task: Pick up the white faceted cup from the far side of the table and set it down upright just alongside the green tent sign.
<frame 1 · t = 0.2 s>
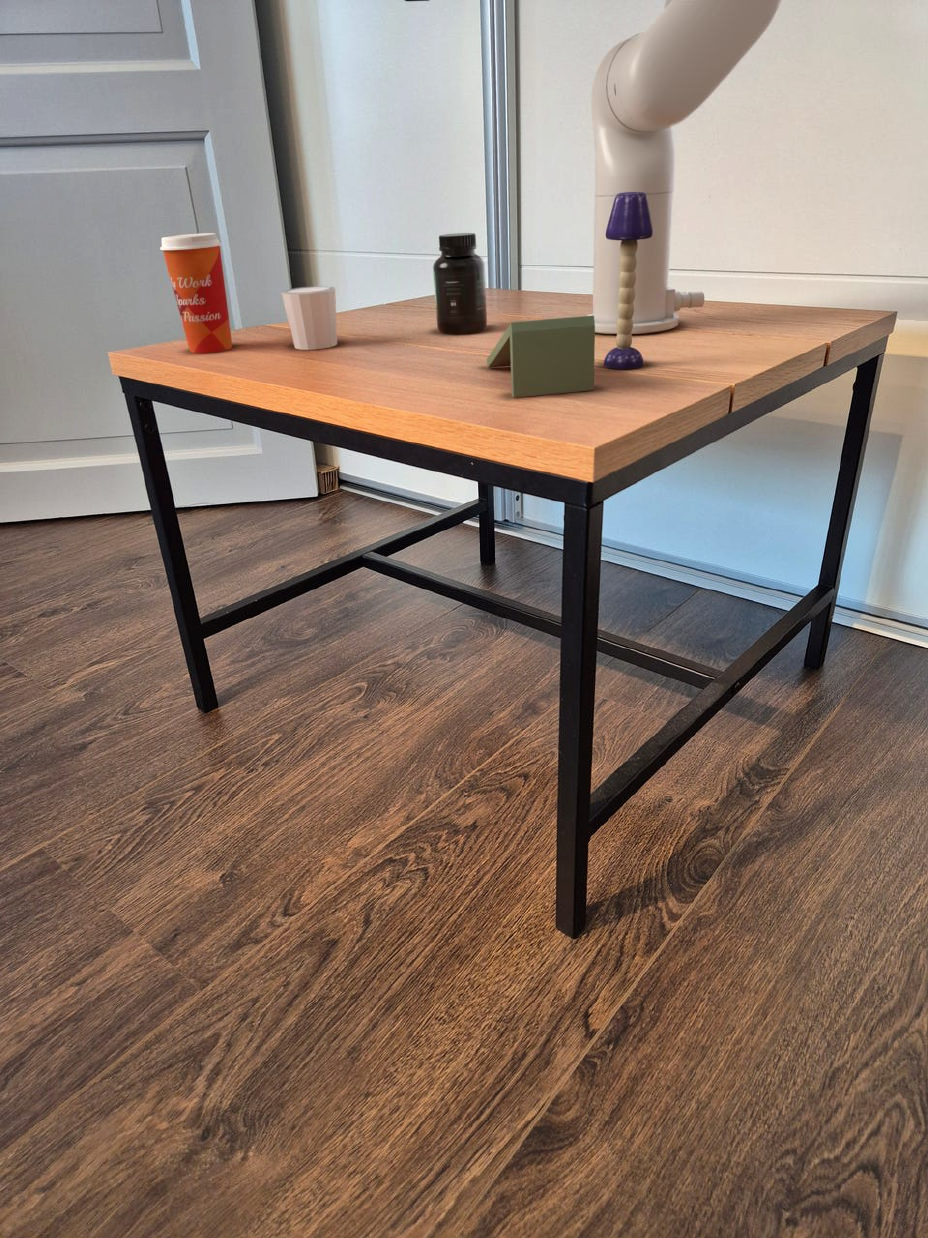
toy lamp: (623, 367, 90), on the table
supplement bottle: (462, 331, 115), on the table
white faceted cup: (316, 346, 111), on the table
green tent sign: (537, 378, 87), on the table
paper cup: (212, 350, 113), on the table
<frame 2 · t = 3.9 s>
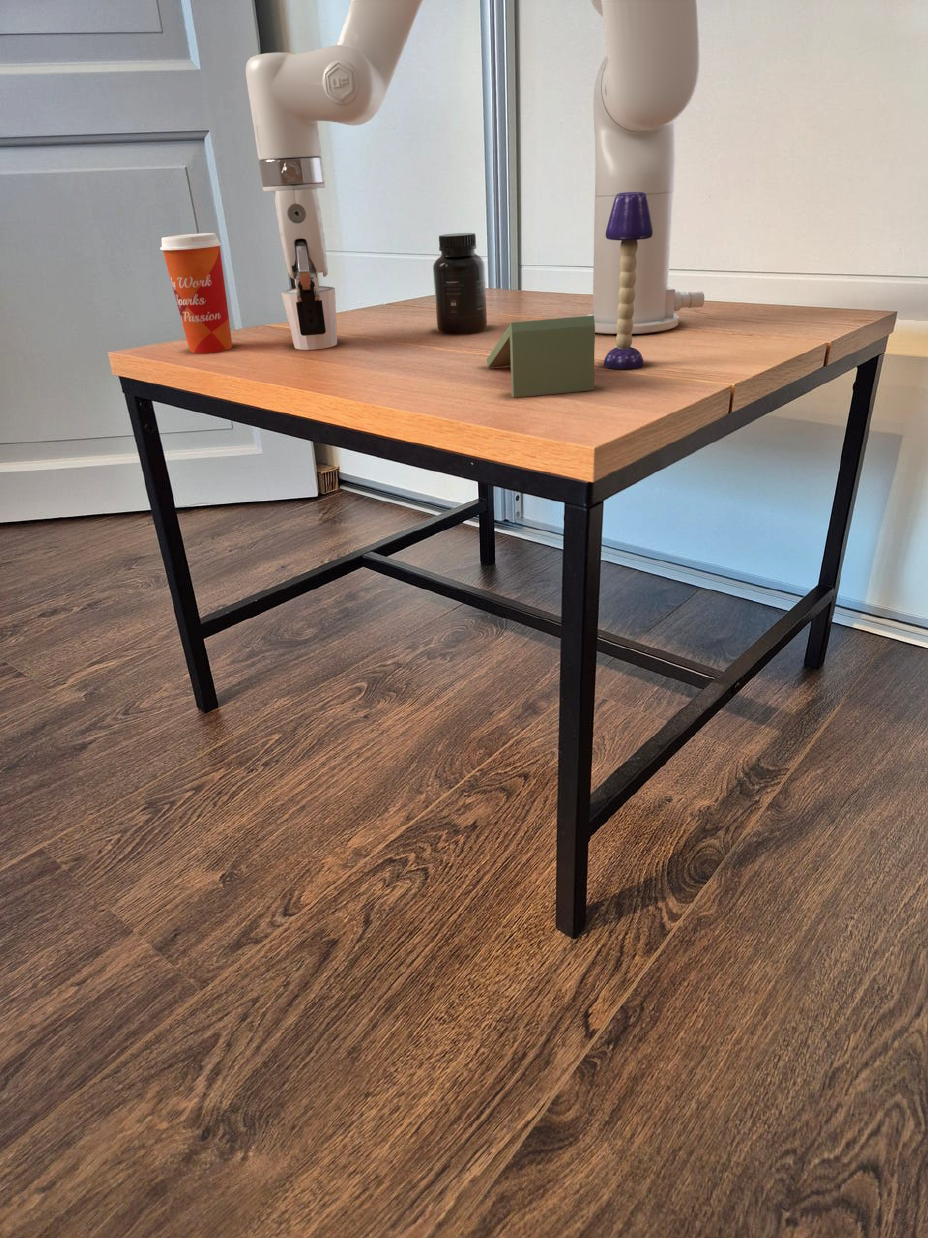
hand: (313, 328, 110), 2 cm above the table, tool pointing down, fingers closed on white faceted cup, 6 cm apart
white faceted cup: (316, 346, 111), on the table, touching gripper
everything else where it was.
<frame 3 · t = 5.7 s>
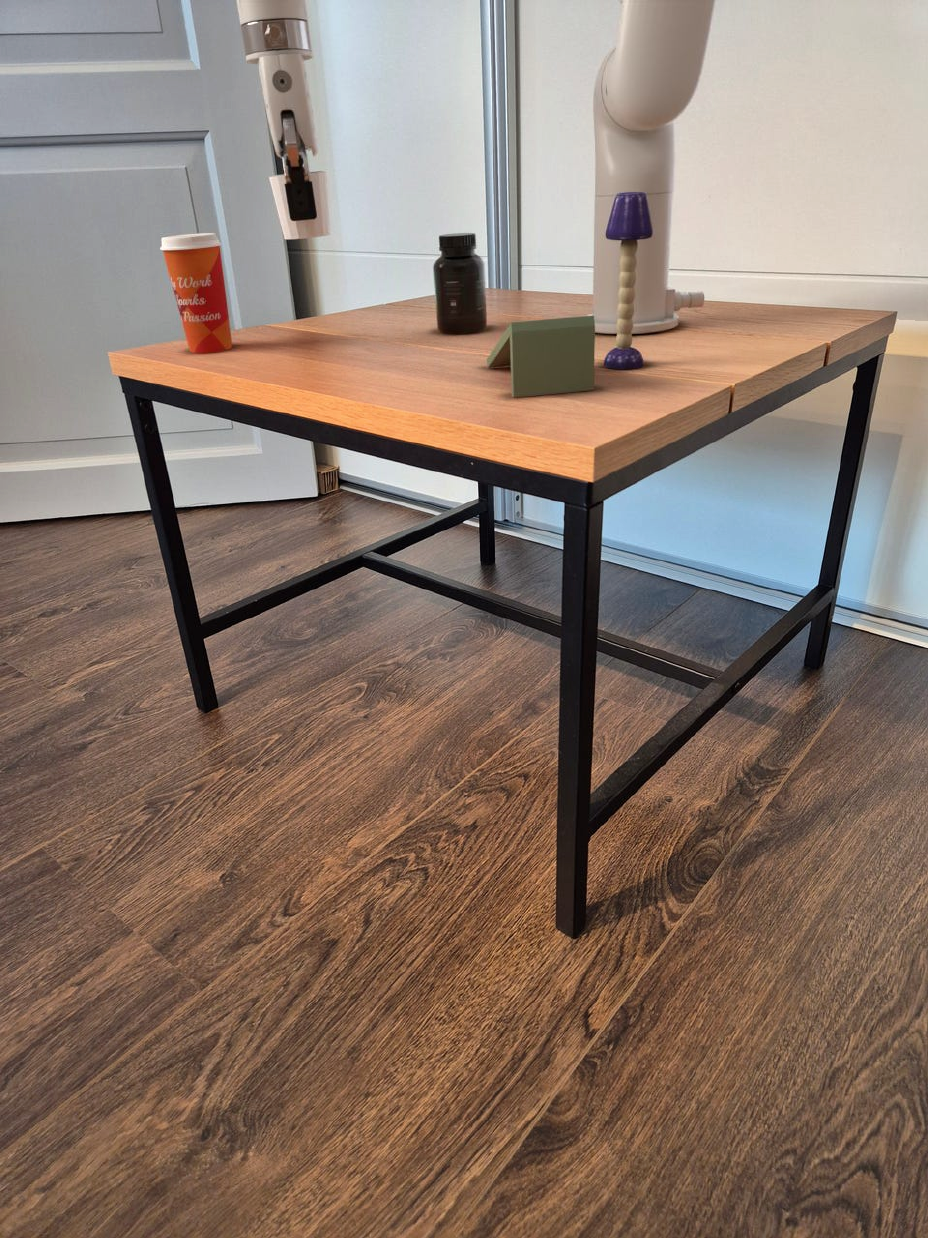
hand: (304, 217, 103), 15 cm above the table, tool pointing down, fingers closed on white faceted cup, 6 cm apart
white faceted cup: (307, 238, 104), point 13 cm above the table, touching gripper
everything else where it was.
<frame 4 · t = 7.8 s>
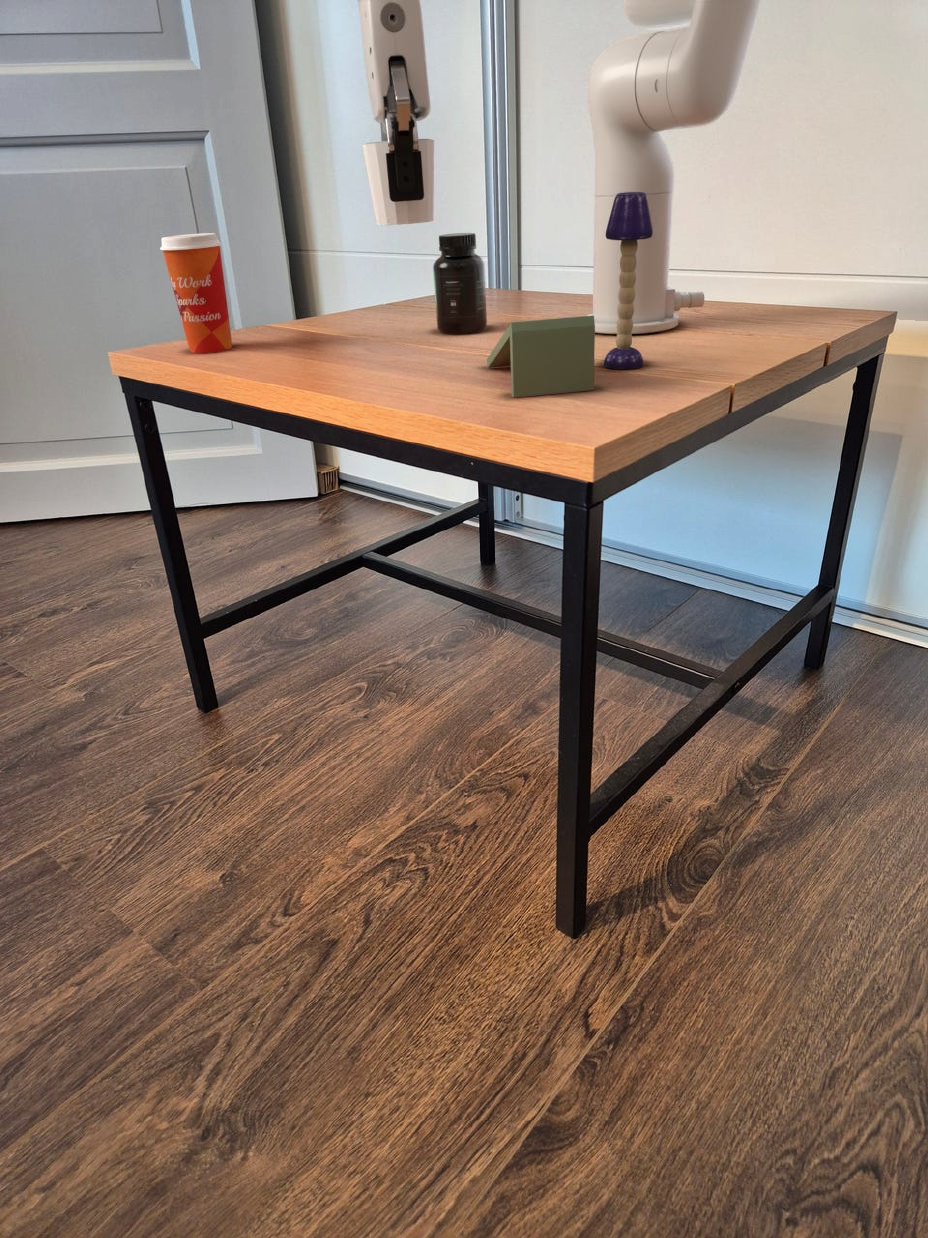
hand: (403, 197, 81), 17 cm above the table, tool pointing down, fingers closed on white faceted cup, 6 cm apart
white faceted cup: (405, 224, 82), point 15 cm above the table, touching gripper
everything else where it was.
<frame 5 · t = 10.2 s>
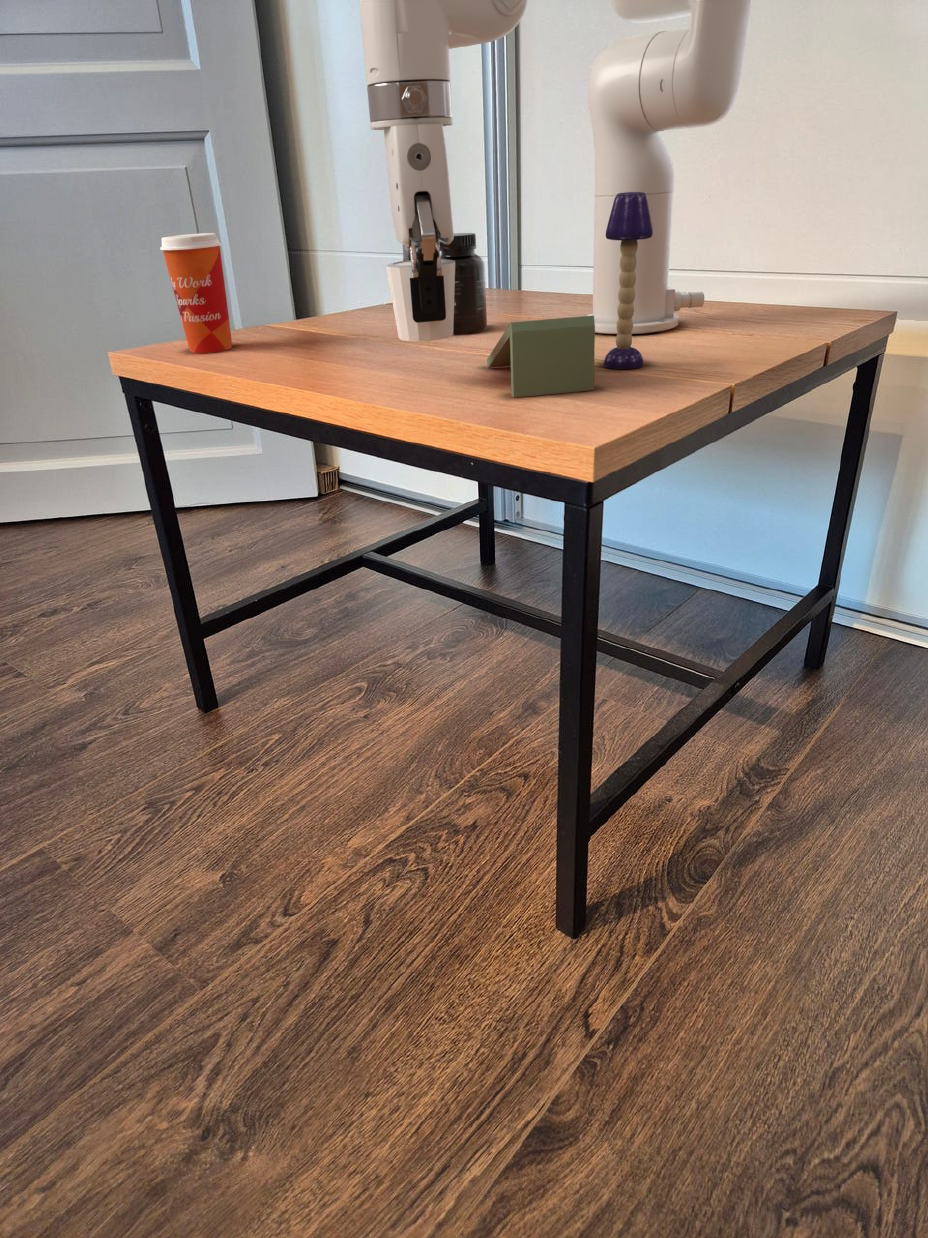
hand: (425, 313, 84), 7 cm above the table, tool pointing down, fingers closed on white faceted cup, 6 cm apart
white faceted cup: (426, 338, 85), point 5 cm above the table, touching gripper
everything else where it was.
when the fingers open (2 cm above the table, at t = 11.9 s): white faceted cup stays where it is, on the table.
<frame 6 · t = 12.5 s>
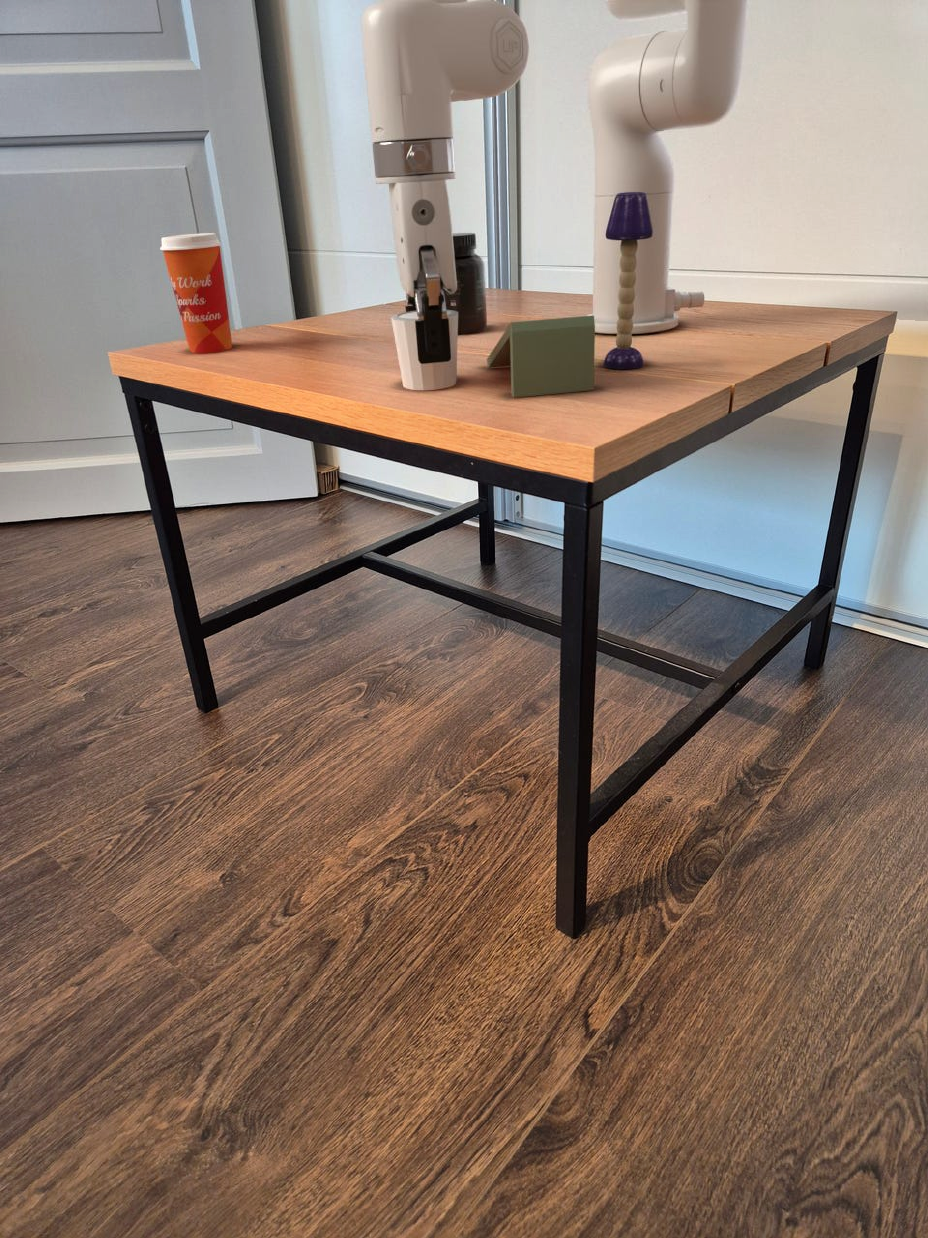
hand: (429, 352, 86), 3 cm above the table, tool pointing down, fingers open, 9 cm apart
white faceted cup: (430, 385, 88), on the table
everything else where it was.
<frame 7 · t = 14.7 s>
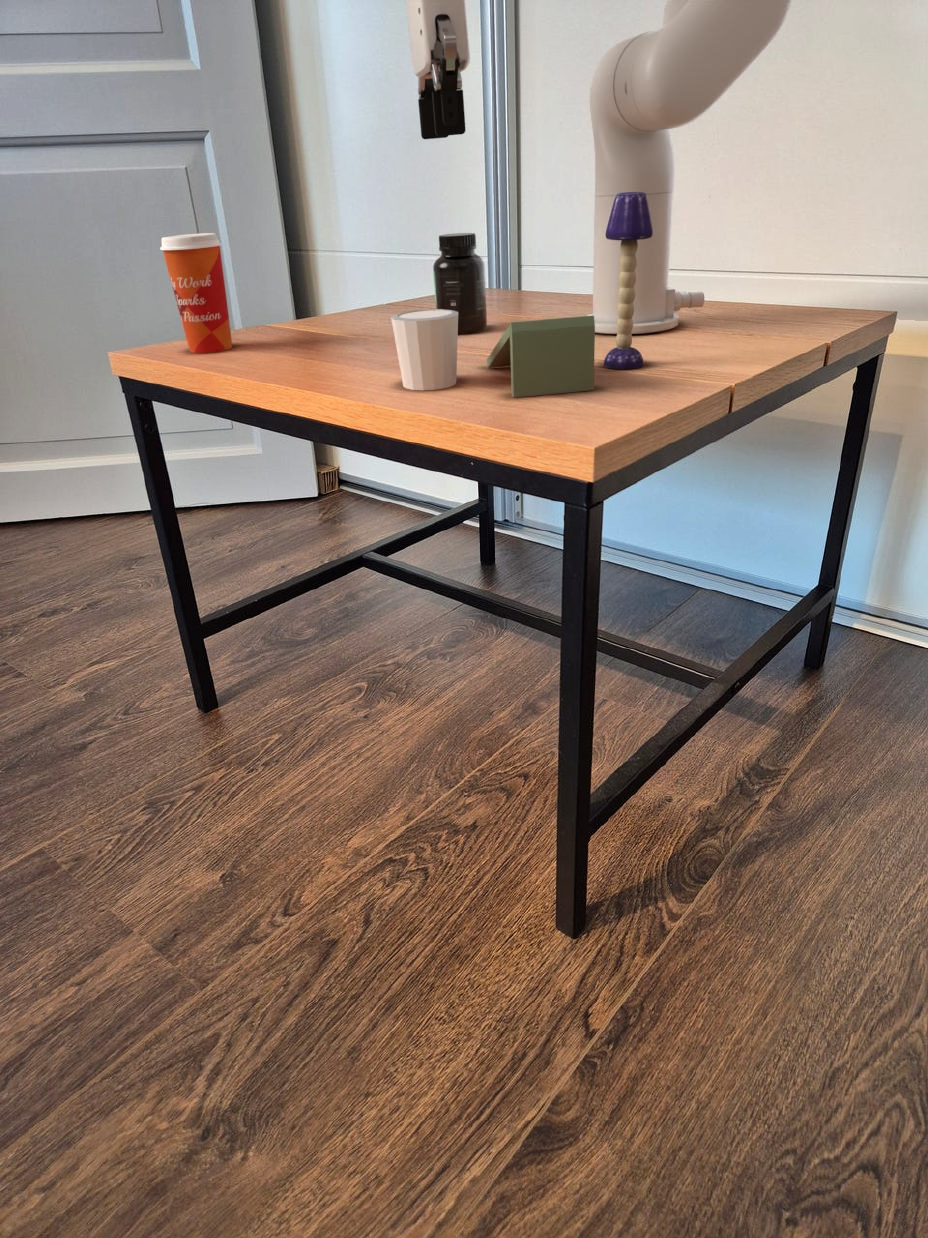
hand: (442, 136, 93), 23 cm above the table, tool pointing down, fingers open, 9 cm apart
nothing on the table moved.
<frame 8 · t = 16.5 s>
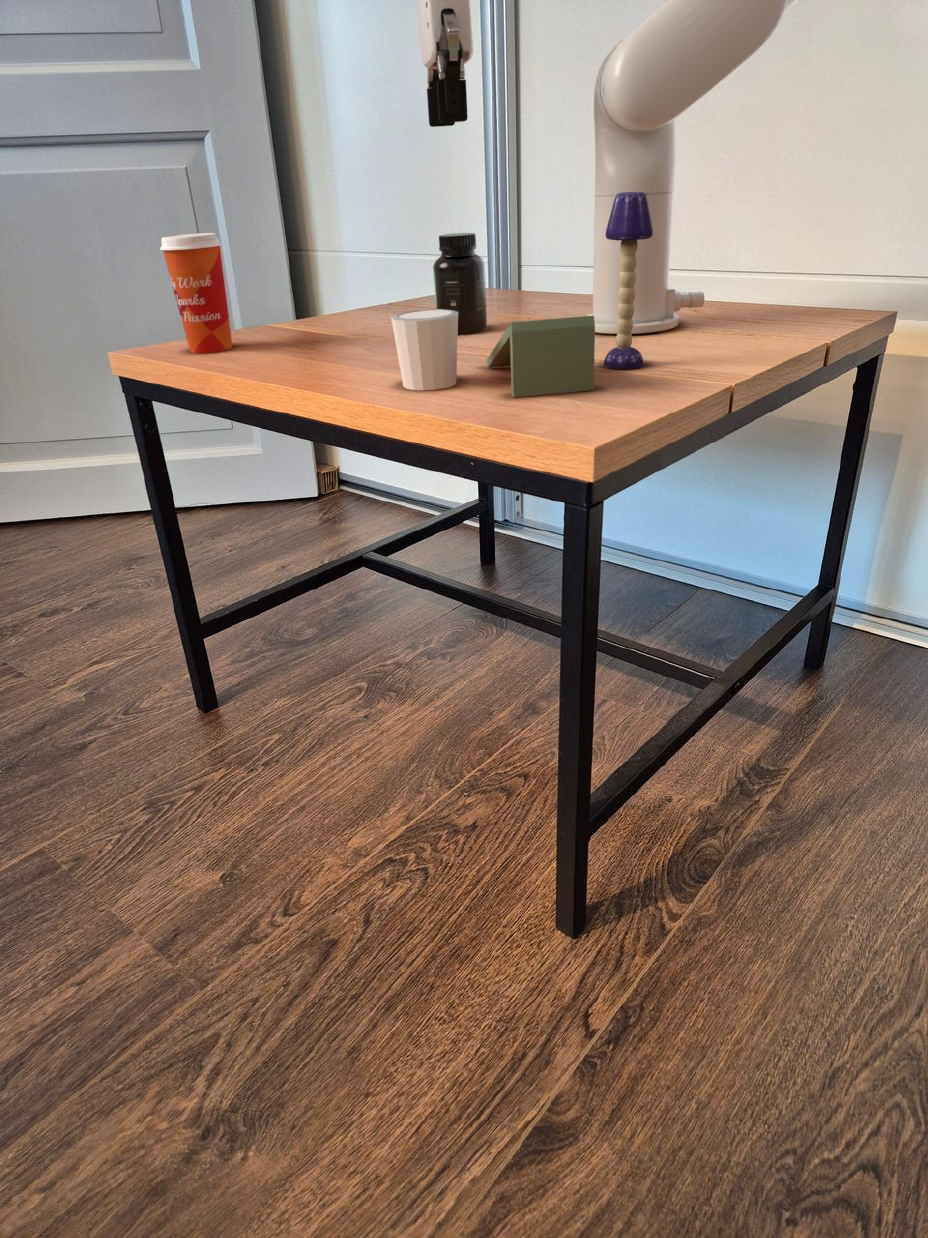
hand: (447, 123, 99), 24 cm above the table, tool pointing down, fingers open, 9 cm apart
nothing on the table moved.
at the end: white faceted cup inside the target area on the table beside the green tent sign (1.0 cm from its centre), on the table; white faceted cup tilted 0°; the gripper is holding nothing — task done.
